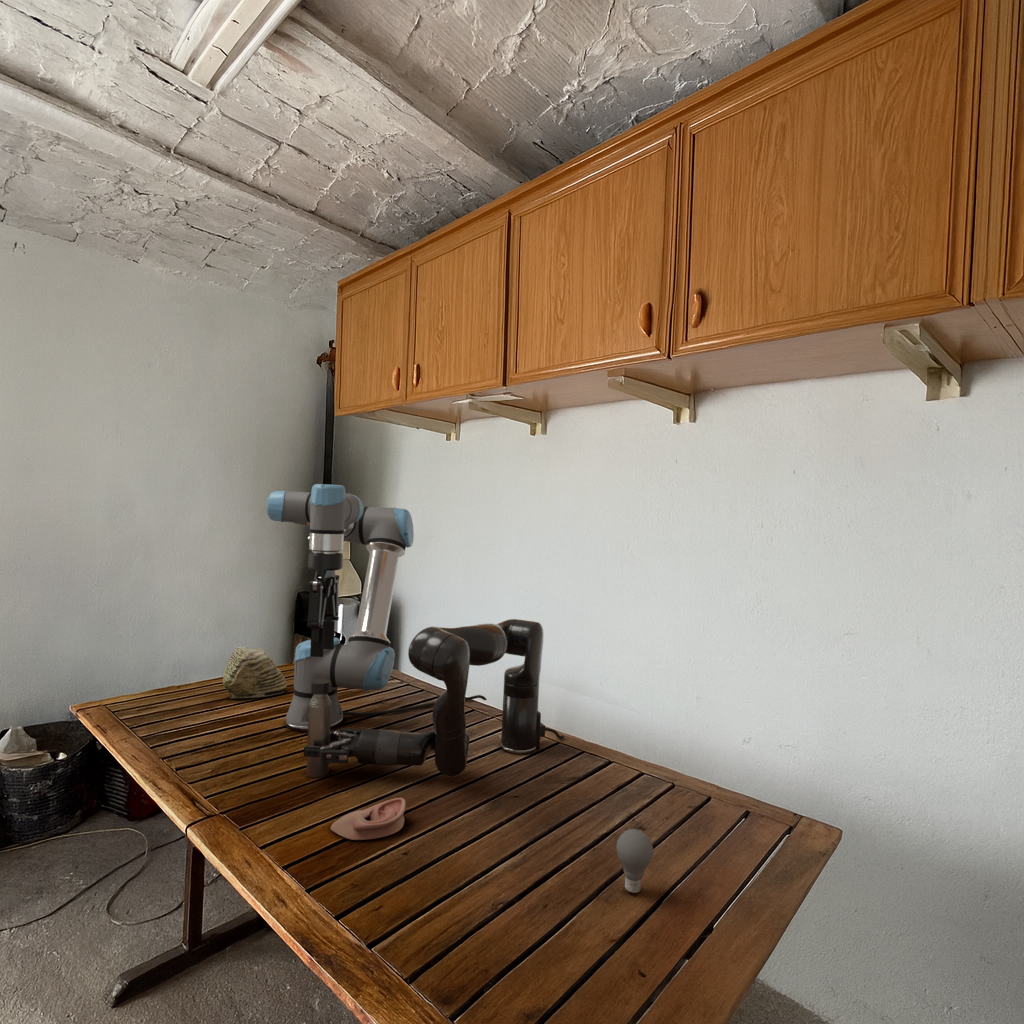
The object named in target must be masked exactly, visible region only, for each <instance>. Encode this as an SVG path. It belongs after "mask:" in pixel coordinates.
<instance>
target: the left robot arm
mask: <svg viewBox="0 0 1024 1024" xmlns="http://www.w3.org/2000/svg"><path fill="white" fill-rule="evenodd" d="M310 491H311V492H310ZM310 491H309V492H307V491H294V490H293V491H291V490H273V491H272V492H271V493H270V494H269V495H268V497H267V500H266V505H265V506H266V507H265V509H266V514H267V516H268V518H269V519H270V520H271V521H274V522H281V523H293V524H296V525H301V526H304V527H309V536H308V537H307V541H309V543H308V550H310V552H309V553H308V562H307V563H308V569H309V570H313V571H315V574H314V578H313V580H310V581H309V582H308V587H309V598H308V610H307V611H308V613H307V624H306V628H309V629H310V639H307V640H304V641H302V642H300V643H298V644H297V645H296V647H295V654H294V659H293V661H294V670H293V671H294V672H293V695H292V696H293V697H292V699H291V702H290V704H289V708H288V711H287V713H286V715H285V726H286V728H287V729H289V730H291V731H294V732H295V731H296V732H301V733H308V720H309V703H310V701H311V699H312V697H313V695H314V694H312V693H311V683H312V680H315V679H329V680H331V685H330V693H328V694H327V695H328V697H329V698H330V700H331V725H330V730H332V729H335V728H337V727H339V726H340V725H342V723H343V722H344V716H355V717H363V716H364V717H365V716H367V717H368V716H377V715H387V714H395V713H401V712H407V711H412V710H413V711H414V710H418V709H422V708H427V707H434V704H435V702H436V701H434V702H429V703H423V704H418V705H413V706H408V707H399V708H395V709H387V710H378V711H377V710H376V711H365V712H354V711H343V709H342V706H341V702H340V699H339V695H338V689H339V688H340V689H354V690H364V691H379V690H382V689H384V688H385V686H387V684H388V683H389V681H390V678H391V677H392V676H391V675H392V673H393V671H394V666H395V657H396V653H395V650H394V648H392V647H391V641H390V640H389V639H388V637H387V632H388V625H389V621H390V620H389V619H390V614H391V608H392V603H393V602H392V601H393V595H394V590H395V584H396V577H397V571H398V565H399V559H400V558H401V557H403V556H404V555H405V553H406V548H407V549H408V548H411V547H412V546H413V544H414V536H415V535H414V523H413V518H412V514H411V512H410V511H409V510H408V509H406V508H400V507H399V508H397V507H395V506H394V507H380V506H379V507H378V506H364V504H363V502H362V500H361V499H360V497H358V496H357V495H355V494H352V493H350V492H349V493H347V492H346V487H345V486H344V485H342V484H328V483H327V484H325V483H323V484H322V483H315V484H313V485H312V487H311V490H310ZM345 542H346V543H347V542H348V543H352V544H356V545H363V546H365V549H366V551H367V552H368V553H369V557H368V563H367V567H366V573H365V580H364V584H363V589H362V594H361V599H360V605H359V611H358V616H357V621H356V627H355V632H353V633H352V634H351V635H349V636H348V640H347V644H341V641H340V639H339V638H338V637H335V628H336V627H335V624H336V623H335V622H336V621H339V619H340V617H339V583H340V575H339V574H336V571H339V570H340V571H341V570H342V569H343V564H344V560H343V559H344V554H343V553H342V552H343V551H344V547H345V546H344V545H345V544H344V543H345ZM475 699H481V700H483V701H488V699H487V698H486V697H485V696H484V695H481V694H476V695H472V696H468V697H465V702H466V701H472V700H475Z"/></svg>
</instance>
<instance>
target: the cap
mask: <svg viewBox="0 0 1024 1024" xmlns="http://www.w3.org/2000/svg"><path fill="white" fill-rule="evenodd" d="M330 685H331V680H329V679H315V680H312V683H311V693H312V694H316V695H323V694H328V693H330Z"/></svg>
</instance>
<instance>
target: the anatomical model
mask: <svg viewBox="0 0 1024 1024" xmlns="http://www.w3.org/2000/svg"><path fill="white" fill-rule="evenodd" d="M406 807H407V804H406V799H405V798H403V797H396V798H391V799H388V800H385V801H382V802H378V803H376V804H374V805H372V806H370V807H367V808H364V809H360V810H355V811H351V812H348V813H347V814H344V815H343V816H341V817H340V818H338V819H336V820H335V821H334V822H333V823H332V824H331V825H330V830H331V832H333V833H335V834H337V835H338V836H339V837H342V838H344V839H346V840H351V841H365V840H374V839H380V838H384V837H388V836H391V835H394V834H395V833H397V832H399V831H400V830H402V829H403V828H404V825H405V816H404V814H405V812H406V811H405V810H406Z"/></svg>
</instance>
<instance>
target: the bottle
mask: <svg viewBox="0 0 1024 1024" xmlns="http://www.w3.org/2000/svg"><path fill="white" fill-rule="evenodd" d="M330 725H331V700H330V698H329V697H328V695H327V694H323V695H316V694H314V695H313V697H312V699H311V701H310V703H309V720H308V732H307V745H308V746H321V747H322V746H327V745H330V744H331V742H330V732H331V729H330ZM329 750H330V749H329ZM327 759H330V758H327ZM329 772H330V763H321V762H320V757H307V756H306V775H307V776H308V777H310V778H323V777H325V776H327V775H328V774H329Z"/></svg>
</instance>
